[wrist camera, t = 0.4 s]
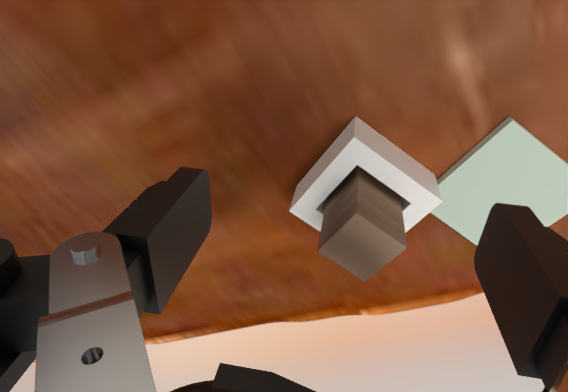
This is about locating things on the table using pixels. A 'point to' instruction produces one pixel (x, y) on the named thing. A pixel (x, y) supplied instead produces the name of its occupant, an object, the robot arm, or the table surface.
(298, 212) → the pocket holder
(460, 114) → the table surface
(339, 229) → the walnut block
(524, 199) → the green mat
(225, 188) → the table surface
